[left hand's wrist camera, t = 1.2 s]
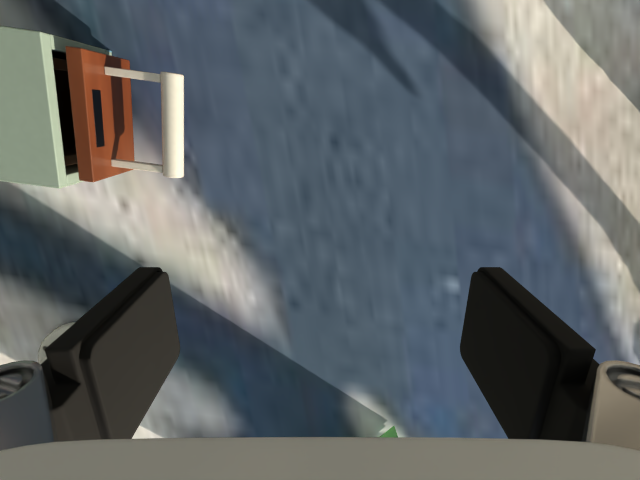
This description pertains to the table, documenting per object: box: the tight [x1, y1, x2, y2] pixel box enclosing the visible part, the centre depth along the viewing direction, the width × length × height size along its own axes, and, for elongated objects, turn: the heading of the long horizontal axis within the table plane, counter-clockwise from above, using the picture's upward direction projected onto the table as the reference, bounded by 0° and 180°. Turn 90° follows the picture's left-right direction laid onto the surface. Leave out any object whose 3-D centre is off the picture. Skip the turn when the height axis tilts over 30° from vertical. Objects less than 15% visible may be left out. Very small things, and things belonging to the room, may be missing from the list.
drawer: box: [52, 46, 184, 182], centre depth 30 cm, size 24×10×7 cm, turn 82°
